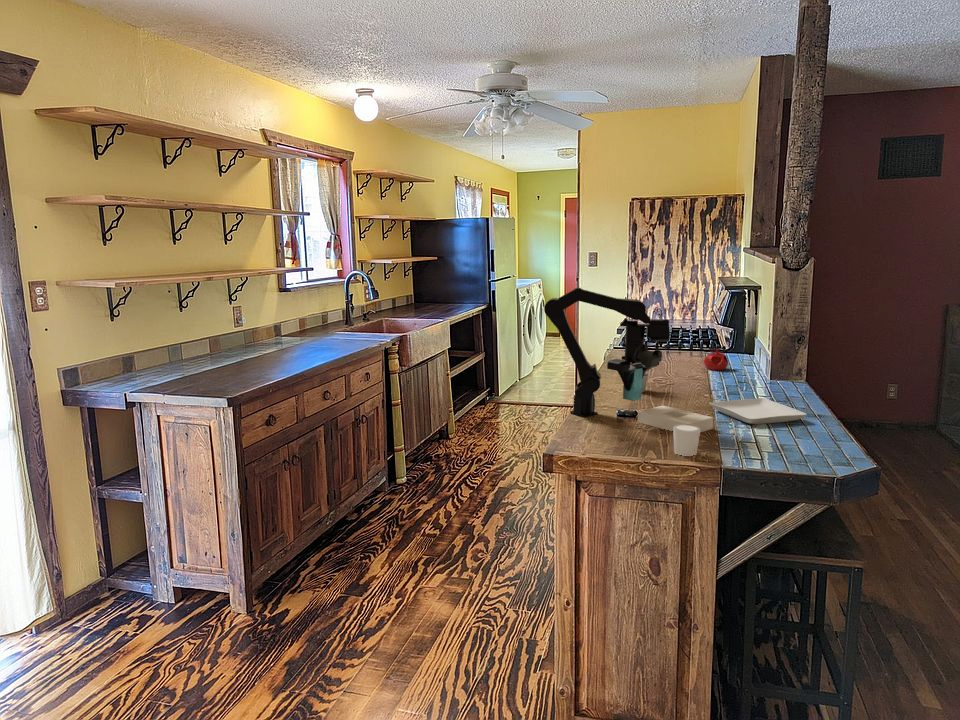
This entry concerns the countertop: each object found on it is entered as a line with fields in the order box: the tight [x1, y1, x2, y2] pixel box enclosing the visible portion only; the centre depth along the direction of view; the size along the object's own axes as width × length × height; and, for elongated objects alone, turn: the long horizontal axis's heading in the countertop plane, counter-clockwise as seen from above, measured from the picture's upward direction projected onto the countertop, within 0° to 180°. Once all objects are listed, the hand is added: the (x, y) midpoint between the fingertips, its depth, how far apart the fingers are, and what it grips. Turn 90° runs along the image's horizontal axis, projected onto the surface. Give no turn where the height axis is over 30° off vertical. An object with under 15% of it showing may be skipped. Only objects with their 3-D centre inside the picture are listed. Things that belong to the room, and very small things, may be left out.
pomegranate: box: [703, 348, 729, 372], centre depth 287 cm, size 10×10×9 cm
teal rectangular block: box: [622, 366, 643, 402], centre depth 208 cm, size 4×4×10 cm
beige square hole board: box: [637, 405, 714, 433], centre depth 199 cm, size 12×18×4 cm, turn 38°
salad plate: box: [709, 397, 808, 425], centre depth 210 cm, size 21×21×3 cm
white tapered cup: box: [672, 425, 701, 457], centre depth 173 cm, size 7×7×7 cm
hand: (632, 389), depth 209 cm, fingers closed on teal rectangular block, 4 cm apart
